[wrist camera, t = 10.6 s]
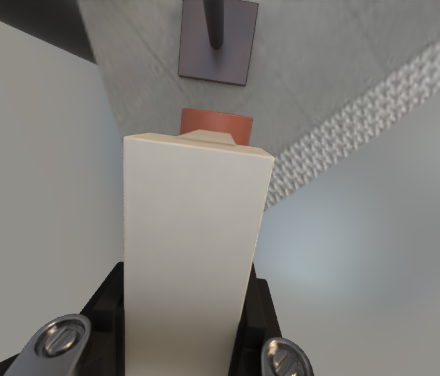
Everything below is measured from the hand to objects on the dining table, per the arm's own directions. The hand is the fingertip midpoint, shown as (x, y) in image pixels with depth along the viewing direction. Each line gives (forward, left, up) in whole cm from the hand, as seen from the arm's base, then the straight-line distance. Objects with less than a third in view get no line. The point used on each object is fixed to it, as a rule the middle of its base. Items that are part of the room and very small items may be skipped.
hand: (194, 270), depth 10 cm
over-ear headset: (0, 0, -8) cm, 8 cm away
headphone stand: (-2, +17, -27) cm, 32 cm away
